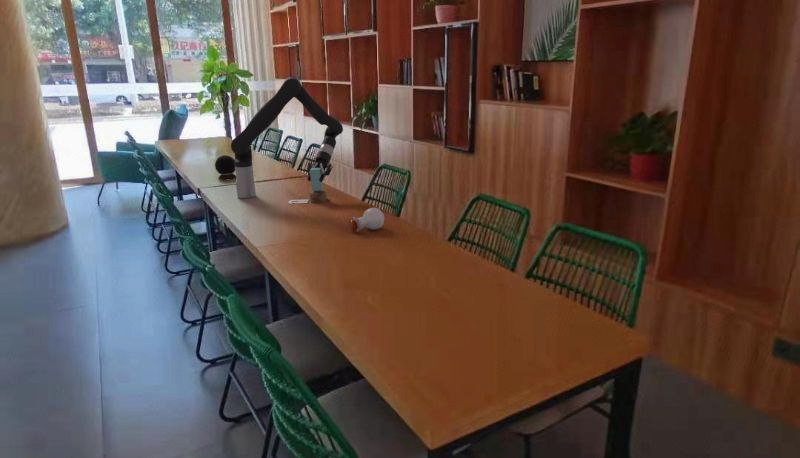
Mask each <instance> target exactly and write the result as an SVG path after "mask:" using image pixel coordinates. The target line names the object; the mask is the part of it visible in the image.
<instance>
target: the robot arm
mask: <svg viewBox="0 0 800 458" xmlns="http://www.w3.org/2000/svg"><path fill="white" fill-rule="evenodd" d="M294 98H295V99H296V100H297V101H298V102H299V103H301V105H303V106H302V107H303V108H305V109H306V110H307V112H308V113H309V115H310V116H312V118H313V119H314V120H316V121H317V123H318V124H320V125H321V126H327V127H326V128H325V131H324V135H323V140H322V143H321V145H320V147H319V148H318V151H317V154H316V157H315V161H314V162H313V163H311V162H308V165H307V168H306V172H307V174H308V175H307V177H306V179H307V181H308V182H311V176H310V169H311V168H321V176H320V179H319V181H320V182H322V183H323V181H324V180H325V177H326V176H329V175H330V174H331V172H332V169H333V168H334V165H332V163H331V159H332V158H333V154H334V150H335V148H336V145H337V141H336V138H337V137H338V136H339V135H341V134H342V133H343V131H344V128H343V124H342V123H341V122H340V121H339V120H338V119H336V118H335V117H333V116H332V115H330V114H328V112H327V111H326V110H325V109H324V108H323V107H322V106H321V105H320V104H319V103H318V102H317V101H316V100H315V99H314V98H313V97H311V95H310V93H308V92H307V90H306V89H305V88H304V86H303V85H302V83H301V81H300V79H298V78H297V77H293V76H288V77H287V78H286V79H285V80H284V81H283V82H282V85H281V86H280V88H278V90H277V92H276V93H275V94H274V96H272V97H271V98H270V99H268V101H266V102H265V103H264V104H263V105H262V106H261V107H260V109H259V110H258V111H257V112H256V113H255V115H254V116H253V117H252V118H251V119H250V121H249V122H248V124H247V125H246V127H244V128H243V130H242V131H241V132H240V133H239V134H238V135H237V136H236V137H234V138H233V139H232V140H231V143H230V149H231V151H232V153H234V160H235V161H234V164H235V171H234V172H235V176H236V178H235V179H236V180H235V188H236V194H237V195H236V196H237V198H238V199H251V198H254V197H256V196H257V194H256V192H257V191H256V184H255V178H254V177H255V176H254V169H253V152H252V144H253V143H254V141H255V140H256V139H257V138H258V137H259V136H260V135H261V134H262V133H264V132H265V131H266V130H267V129H268V128H269V127H270V126H271V125H272V124H273V123H274V122H275V121H276V119H277V118H278V117H279V115H280V114H281V113H282V111H283V110H284V108H285V106H286V105H288V103H290V101H291V100H292V99H294Z"/></svg>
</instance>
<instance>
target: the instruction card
mask: <svg viewBox="0 0 800 458" xmlns="http://www.w3.org/2000/svg"><path fill="white" fill-rule="evenodd" d="M309 200H310V198H308V199H290V200H289V201H288V202H287V204H289V205H291V204H292V203H295V204H308V202H309Z"/></svg>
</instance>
